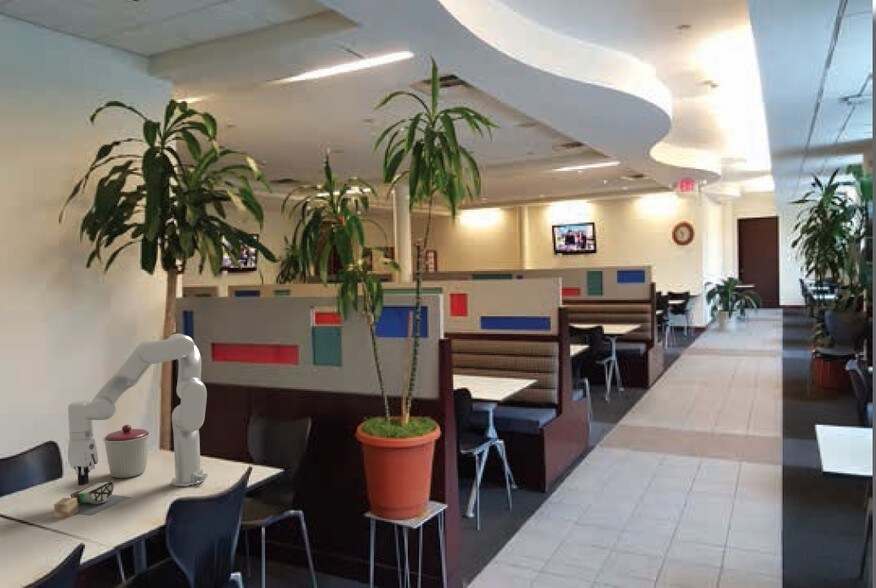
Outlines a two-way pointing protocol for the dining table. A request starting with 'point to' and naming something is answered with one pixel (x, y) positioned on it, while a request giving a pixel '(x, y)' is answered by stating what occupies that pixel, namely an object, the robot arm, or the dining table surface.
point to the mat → (100, 505)
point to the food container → (94, 493)
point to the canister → (127, 451)
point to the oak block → (66, 507)
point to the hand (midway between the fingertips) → (83, 484)
